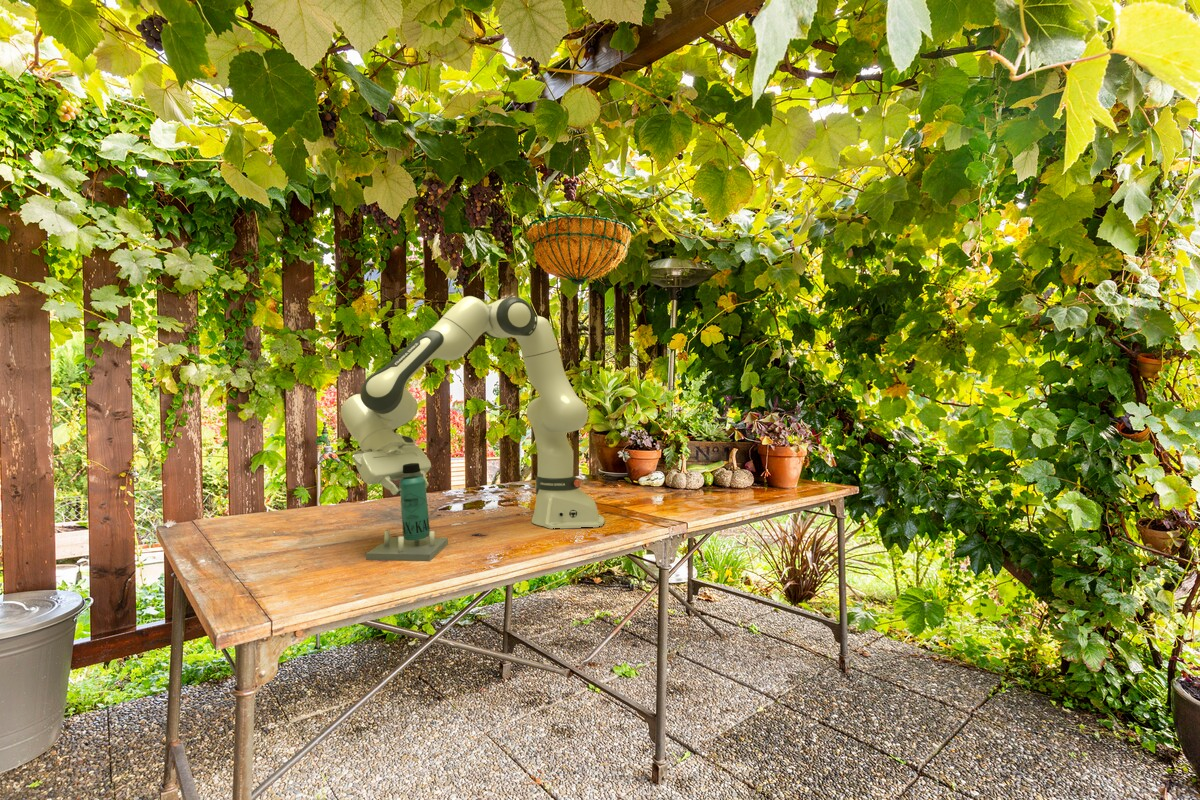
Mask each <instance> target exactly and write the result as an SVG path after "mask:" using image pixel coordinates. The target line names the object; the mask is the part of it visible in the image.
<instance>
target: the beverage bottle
mask: <svg viewBox="0 0 1200 800" xmlns="http://www.w3.org/2000/svg"><path fill="white" fill-rule="evenodd" d="M419 471H420V466H419V463H410V464H405V465H403V473H404V474H408V473H416V472H419ZM425 482H426V481H425V479H424V478H422V477H421V476H410V477H405V478H403V479H400V481H399V483H398V485H399V487H400V488H401V492H399V495H400V504H399V505H400V512H401V514H400V515H401V522H402V525H401V526H402V534H403V535H402V536H403V537H404V539H405V540H419V539H423V538H429V532H430V531H431V525H430V516H429V506H428V505H429V504H428V498H427V488H426V484H425Z"/></svg>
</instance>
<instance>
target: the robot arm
mask: <svg viewBox="0 0 1200 800" xmlns="http://www.w3.org/2000/svg"><path fill="white" fill-rule="evenodd" d="M482 335H485V336H487V337H489V338H492V339H497V340H498V339H508V338H512V337H513V338H514V339H515V340H516V341H517V343H518V345H519V347H520V351H521V355H522V359H523V364H524V366H525V370H526V375H527V379H528V381H529V383H530V384H531V386H532V387H533V388H534V389H535V391H536V392H537V394H538V395H539V396H538V397H536V398H534V399H532V400H531V401H530V402H529V403H528V405H527V408H526V418H527V421H528V422H529V424H530V426H531V427H532V431H533V435H534V440H535V443H536V449H537V450H536V452H537V475H536V476H535V486H534V487H535V489H534V490H535V494H536V498H535V506H534V511H533V515H532V519H531V523H532V524H534V525H536V526H541V527H545V528H547V529H551V530H555V528H560V529H582V528H581V527H593V528H600V527H602V526H604V525H605V517H604V516H603V515H601V514H599V513H598V507H597V503H596V501H595V500H594V499H593V498H592V497H591V496H590V495H588V494H587V493H586V492H585V491H583V490H582V489H581V488H580V486H581V480H580V478H579V477H577V476H575V475H574V450H573V447H572V446H571V445H570V443H569V441H568V437H567V433H572V432H576V431H578V430H581V429H582V428H584V427H585V425H586V424H587V421H588V419H589V410H588V407H587V405H586V404H585V402H584V401H582V399H580V397H578V395H577V394H576V392H575V390H574V389H573V387H572V385H571V383H570V381H569V378H568V377H567V374H566V372H565V369H564V365H563V360H562V357H561V355H560V350H559V346H558V343H557V339H556V337H555V334H554V331H553V328H552V326H551V324H550V322H549V321H548V319H547V318H545V317H543V316H540V315H537V313H535V311H534V310H533V308H532V306H531V305H530V303H528V302H527V300H525V299H523V298H521V297H518V296H509V297H507V298H506V297H505V298H500V299H497V300H495V301H494V302H491V303H489V304H486V303H485V302H484V301H482V300H481V298H477V297H475V296H472V295H468V296H464V297H463V298H461V299H460V300H459V301H458V302H456V303H455V304H454V305H453V306H452V307H450V308H449V309H448V310H447V311H446V312H445V313H444V314H443V315H442V317H441V318H440V319H439V320H438V321H437V322H436V323H435V324H434V325H433V326H432V327H431V328H430V329H428V330H426V331H423V332H422V333H421V334H419V335H418V336H417V337H416V338H414V339H413V340H412V341H411V342H410V343H409V344H408V345H407V346H406V347H405V348H404V349H402V351H401V352H399V354H396V356H395V357H394V358H393V359H392V360H391V361H390V362H389V363H387V364H386V365H385V366H384V367H382V368H381V369H379V370H377V371H376V372H373V373H372V374H370V375H369V376H368V377H367V378H366V379H365V380H364V381H363V383H362V385H361V387H360V392H359V393H356V394H353V395H351V396H350V397H348V398H347V399H346V400H345V401H344V402H343V404H342V406H341V409H340V416H341V419H342V421H343V424H344V426H345V427H346V429H347V431H348V433H350V435H351V437H352V438H353V439H354V440H356V441H357V442H358V445H359V449H360V450H356V451H354V453H352V456H351V458H352V461H354V463H355V466H356V470H357V472H358V473H359V475H360V477H361V479H362V481H363V482H364V483H365V484H367V485H375V484H376V485H377V484H380V485H381V486H382V487H383V488H385V489H386V490H389V492H390V493H391V494H392V495H393V496H394V495H398V494H399V495H400V492H401V488H400V485H399V484H395V483H394V482H393V481H399V480H402V479H403V478H405V477H410V476H421V477H422V478H424V479H425V481H426V482H425V484H426V489H427V488H428V487H429V486H430V485H429V482H428V481H427V476H426V475H427V473H428V472H429V471H430V469H431V468H432V463H431V460H430V459H429V457H428V456H427V455H426V453H425V452H424V451H423V450H422V448H420V447H419V446H418V445H416V443H417V441H416V439H415V438H414V437H411V436H407V435H405V434H404V435H403V434H400V433H397V432H394V430H396V429H399V428H400V427H402V426H404V425H407V424H408V423H410V422H411V421H412V420H413V419H414V418H415V417H416V414H417V412H418V402H417V400H416V398H415V397H414V395H412V393H411V392H410V391H409V390H408V389H407V383H408V382H409V381H410V380H411V379H412V378H413V377H414V376H415V374H417V373H418V372H419V371H420V370H421V368H422V367H424V366H425V365H426V364H427V363H428V362H429V361H431V360H433V359H439V360H444V361H455V360H459V359H460V358H462V357H463V356H464V355H466V353H467V352H468V351H469V350H471V348H472V347H473V345H474V344H475V343H476V342H477V340H478V339H479V337H480V336H482ZM410 463H419V466H420V471H419V472H416V473H408V474H404V473H403V465H405V464H410ZM603 524H604V525H603ZM599 526H600V527H599ZM553 528H554V529H553Z"/></svg>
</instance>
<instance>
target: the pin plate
mask: <svg viewBox="0 0 1200 800" xmlns="http://www.w3.org/2000/svg"><path fill="white" fill-rule="evenodd" d="M383 532H384V536H383V537H384V540H383V542H381V543H380V544H378V545H376V546H375V547H373V548H372V549H371V550H370V551H367V552H366V553H365V559H366V561H409V562H411V561H412V562H413V561H415V562H416V561H417V562H430V561H432V559H433V558H434V557H436V556H437V555H438V554H439V553H440V552H441V551H442V550H444V548H445V547H446V546H447V545H448V544H449V537H435V530H430V532H429V536H428V537H426V538H423V539H419V540H405V539H404V537H403V536H404V535H401V536H391V534H390V529H389V530H387V529H386V530H384V531H383ZM439 551H440V552H439ZM438 552H439V553H438ZM437 553H438V554H437ZM436 554H437V555H436Z"/></svg>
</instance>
